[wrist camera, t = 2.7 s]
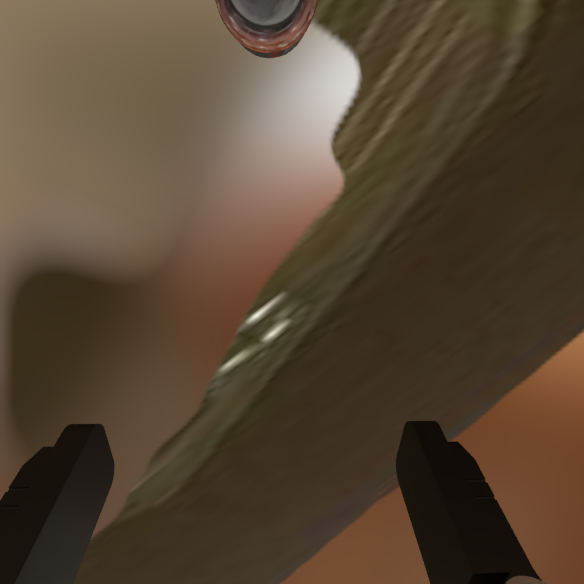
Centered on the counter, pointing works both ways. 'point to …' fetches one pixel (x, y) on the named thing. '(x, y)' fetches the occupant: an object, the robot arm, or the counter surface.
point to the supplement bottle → (267, 23)
